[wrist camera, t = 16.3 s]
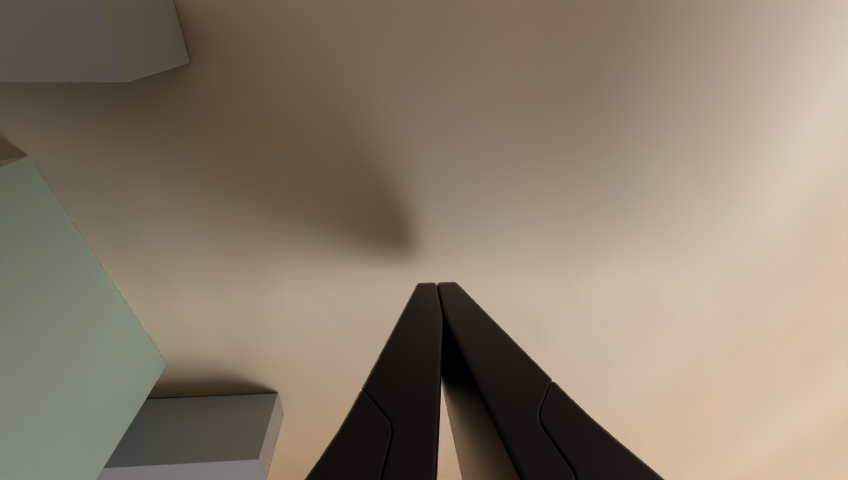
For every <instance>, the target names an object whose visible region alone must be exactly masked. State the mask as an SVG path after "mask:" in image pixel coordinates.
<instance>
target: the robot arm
mask: <svg viewBox="0 0 848 480" xmlns="http://www.w3.org/2000/svg"><path fill="white" fill-rule="evenodd" d="M441 380H442V387H443V392H444V397H445V402H446V406H447V411H448V416H449V420H450V425H451V429H452V434H453V439H454V443H455V448H456V453H457V457H458V462H459V467H460V471H461V476H462V480H664V479H663V478H662V477H661V476H660V475H658V474H657V473H656V472H655V471H654V470H652V469H651V468H650V467H649V466H648V465H646V464H645V463H644V462H643V461H642V460H640V459H639V458H638V457H637V456H636V455H635V454H633V453H632V452H631V451H630V450H629V449H627V448H626V447H625V446H624V445H623V444H621V443H620V442H619V441H618V440H617V439H615V438H614V437H613V436H612V435H611V434H610V433H609V432H607V431H606V430H605V429H604V428H603V427H602V426H601V425H599V424H598V423H597V422H596V421H595V420H594V419H593V418H591V417H590V416H589V415H588V414H587V413H586V412H585V411H584V410H583V409H582V408H581V407H580V406H579V405H578V404H577V403H576V402H575V401H574V400H572V399H571V398H570V397H569V396H568V395H567V394H566V393H565V392H564V391H563V390H562V389H561V388H560V387H559V386H558V385H557V384H556V383H555V382H552V379H551V378H550V377H549V376H548V375H547V374H546V373H545V372H544V371H543V370H542V369H541V368H540V367H539V366H538V365H537V364H536V363H535V362H534V361H533V360H532V359H531V358H530V357H529V356H528V354H527V353H526V352H525V351H524V350H523V349H522V348H521V347H520V346H519V345H518V344H517V343H516V342H515V341H514V340H513V339H512V338H511V337H510V336H509V335H508V334H507V333H506V332H505V331H504V330H503V329H502V328H501V327H500V326H499V325H498V324H497V323H496V322H495V321H494V320H493V319H492V318H491V317H490V316H489V315H488V314H487V313H486V312H485V311H484V310H483V309H482V308H481V307H480V306H479V305H478V304H477V303H476V302H475V301H474V300H473V299H472V298H471V297H470V296H469V295H468V294H467V293H466V292H465V291H464V290H463V289H462V288H461V287H460V286H459V285H458V284H457V283H456V282H440V283H438V284H437V285H436V284H435V283H419V284H417V286H416V288H415V290H414V291H413V293H412V295H411V297H410V299H409V301H408V303H407V305H406V306H405V308H404V310H403V312H402V314H401V316H400V318H399V320H398V322H397V323H396V325H395V327H394V329H393V331H392V333H391V335H390V337H389V338H388V340H387V342H386V344H385V346H384V348H383V350H382V352H381V354H380V355H379V357H378V359H377V361H376V363H375V365H374V367H373V369H372V370H371V372H370V374H369V376H368V378H367V380H366V382H365V384H364V386H363V387H362V391H361V392H360V393H359V395H358V396H357V398H356V400H355V402H354V404H353V406H352V408H351V409H350V411H349V413H348V415H347V416H346V418H345V420H344V422H343V423H342V425H341V427H340V428H339V430H338V432H337V433H336V435H335V436H334V438H333V439H332V441H331V442H330V444H329V445H328V447H327V448H326V450H325V451H324V453H323V454H322V456H321V457H320V459H319V460H318V462H317V463H316V464H315V466H314V467H313V469H312V470H311V471H310V473H309V474H308V476H307V477H306V478H305V480H437V474H438V450H439V427H440V403H441Z"/></svg>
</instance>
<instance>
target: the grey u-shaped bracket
mask: <svg viewBox="0 0 848 480" xmlns="http://www.w3.org/2000/svg"><path fill="white" fill-rule="evenodd" d="M189 63H190V60H189V57H188V53H187V49H186V45H185V42H184V38H183V34H182V30H181V26H180V23H179V19H178V15H177V11H176V8H175V4H174V0H0V83H75V82H131V81H134V80H137V79H140V78H144V77H147V76H150V75H153V74H156V73H160V72H163V71H166V70H169V69H173V68H176V67H179V66H182V65H186V64H189ZM283 415H284V414H283V411H282V407H281V403H280V399H279V395H278V393H272V394H251V395H230V396H209V397H187V398H166V399H146V400H145V401H144V403H143V405H142V406H141V408H140V409H139V411H138V413H137V414H136V416H135V417H134V419H133V421H132V422H131V424H130V426H129V427H128V429H127V430H126V432H125V434H124V435H123V437H122V438H121V440H120V442H119V443H118V445H117V446H116V448H115V450H114V451H113V453H112V455H111V456H110V458H109V459H108V461H107V463H106V464H105V466H104V467H103V469H102V471H101V472H100V474H99V475H98V477H97V479H96V480H266V479H267V476H268V472H269V468H270V464H271V461H272V457H273V453H274V449H275V445H276V442H277V438H278V434H279V430H280V427H281V423H282V419H283Z"/></svg>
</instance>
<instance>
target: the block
mask: <svg viewBox="0 0 848 480" xmlns="http://www.w3.org/2000/svg"><path fill="white" fill-rule="evenodd" d="M167 364H168V363H167V362H166V360H165V359H164V357H163V356H162V354H161V353H160V351H159V350H158V348H157V347H156V345H155V344H154V342H153V341H152V339H151V338H150V336H149V335H148V333H147V332H146V331H145V329H144V328H143V326H142V325H141V323H140V322H139V320H138V319H137V317H136V316H135V314H134V313H133V311H132V310H131V308H130V307H129V305H128V304H127V302H126V301H125V299H124V298H123V296H122V295H121V293H120V292H119V290H118V289H117V287H116V286H115V284H114V283H113V281H112V280H111V278H110V277H109V275H108V274H107V272H106V271H105V269H104V268H103V266H102V265H101V263H100V262H99V260H98V259H97V257H96V256H95V254H94V253H93V251H92V250H91V248H90V247H89V245H88V244H87V242H86V241H85V239H84V238H83V236H82V235H81V233H80V232H79V230H78V229H77V227H76V226H75V225H74V223H73V222H72V220H71V219H70V217H69V216H68V214H67V213H66V211H65V210H64V208H63V207H62V205H61V204H60V202H59V201H58V199H57V198H56V196H55V195H54V193H53V192H52V190H51V189H50V187H49V186H48V184H47V183H46V181H45V180H44V178H43V177H42V175H41V174H40V172H39V171H38V169H37V168H36V166H35V165H34V163H33V162H32V160H31V159H30V157H29V156H23V157H17V158H10V159H4V160H0V480H96V479H97V477H98V475H99V474H100V472H101V471H102V469H103V467H104V466H105V464H106V463H107V461H108V459H109V458H110V456H111V455H112V453H113V451H114V450H115V448H116V446H117V445H118V443H119V442H120V440H121V438H122V437H123V435H124V434H125V432H126V430H127V429H128V427H129V426H130V424H131V422H132V421H133V419H134V417H135V416H136V414H137V413H138V411H139V409H140V408H141V406H142V405H143V403H144V401H145V400H146V398H147V397H148V395H149V393H150V392H151V390H152V389H153V387H154V385H155V384H156V382H157V380H158V379H159V377H160V376H161V374H162V372H163V371H164V369H165V368H166V366H167Z"/></svg>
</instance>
